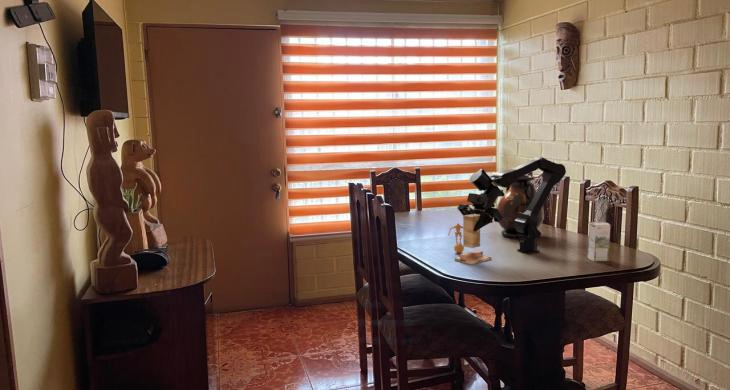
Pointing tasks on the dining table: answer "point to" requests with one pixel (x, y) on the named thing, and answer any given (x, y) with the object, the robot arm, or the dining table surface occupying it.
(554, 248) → the dining table surface
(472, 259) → the fulcrum
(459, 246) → the figurine
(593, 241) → the syrup box
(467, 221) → the oak post
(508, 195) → the amphora vase
